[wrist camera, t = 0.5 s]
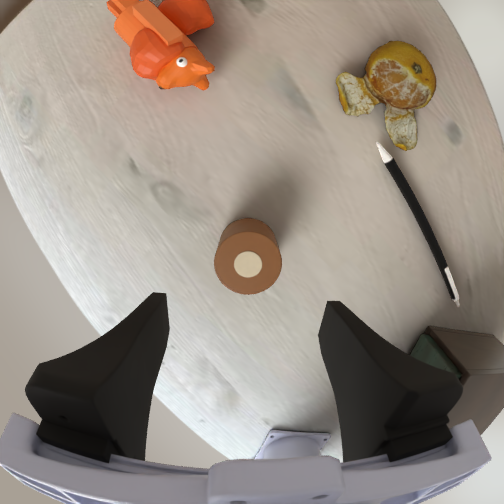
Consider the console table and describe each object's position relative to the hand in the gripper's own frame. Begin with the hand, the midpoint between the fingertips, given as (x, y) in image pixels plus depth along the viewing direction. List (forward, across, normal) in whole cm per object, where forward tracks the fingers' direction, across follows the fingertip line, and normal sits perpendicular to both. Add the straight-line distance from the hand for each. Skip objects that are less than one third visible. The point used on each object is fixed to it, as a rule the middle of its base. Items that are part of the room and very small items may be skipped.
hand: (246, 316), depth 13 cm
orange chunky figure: (+13, +7, -15) cm, 21 cm away
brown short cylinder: (+10, 0, +1) cm, 11 cm away
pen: (+10, -16, -1) cm, 19 cm away
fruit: (+12, -10, -12) cm, 20 cm away
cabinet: (+8, -25, +17) cm, 31 cm away
